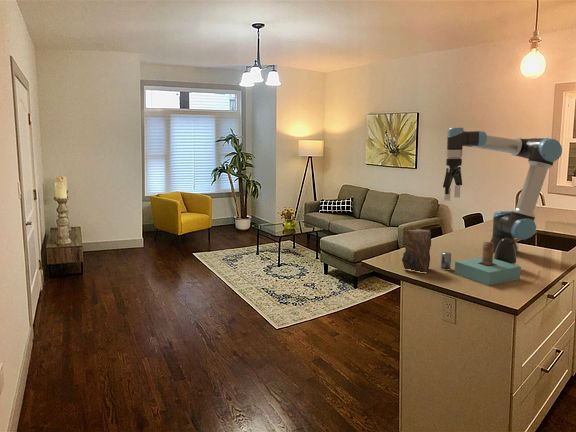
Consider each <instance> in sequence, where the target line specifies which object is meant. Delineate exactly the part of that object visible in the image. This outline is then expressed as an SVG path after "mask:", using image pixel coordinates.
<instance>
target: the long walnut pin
mask: <svg viewBox="0 0 576 432" xmlns="http://www.w3.org/2000/svg"><path fill="white" fill-rule="evenodd" d="M482 243H483V245H482V256H481V257H482V265H484V266H492V264H493V259H494V252H493V249H494V243H492V242H490V241H484V242H482Z"/></svg>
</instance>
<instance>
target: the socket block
mask: <svg viewBox="0 0 576 432" xmlns="http://www.w3.org/2000/svg"><path fill="white" fill-rule="evenodd" d="M521 269H522V266H520V265H517V264H515V265H514V264H511V263H507V262H503V261H500V260H496V259H494V258H493V264H492V266H484V265H482V256H481V257H474V258H468V259H463V260H456V261H454V274H455V273H456V274H455V275H457V274H458V276H460V275H461V277H463V276H464V277H463V278H466V277H467V278H466V279H469V280H471V279H472V281H474V280H475V281H474V282H477V283H480V284H483V285H486V286H493V285H497V284H502V283H507V282H512V281H517V280H521Z"/></svg>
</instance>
